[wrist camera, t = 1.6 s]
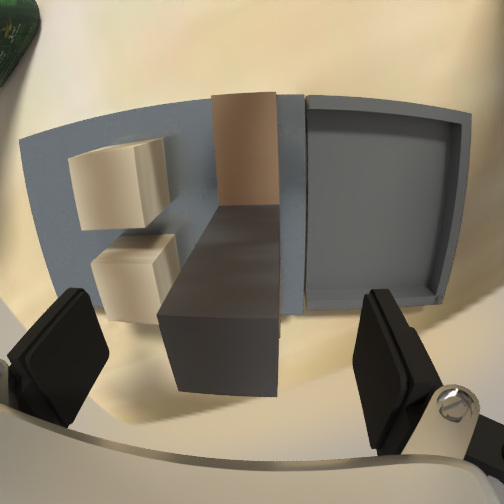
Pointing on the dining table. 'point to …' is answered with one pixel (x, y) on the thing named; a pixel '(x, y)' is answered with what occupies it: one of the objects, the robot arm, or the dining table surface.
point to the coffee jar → (15, 32)
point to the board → (179, 182)
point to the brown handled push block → (233, 264)
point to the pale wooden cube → (136, 276)
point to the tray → (382, 199)
